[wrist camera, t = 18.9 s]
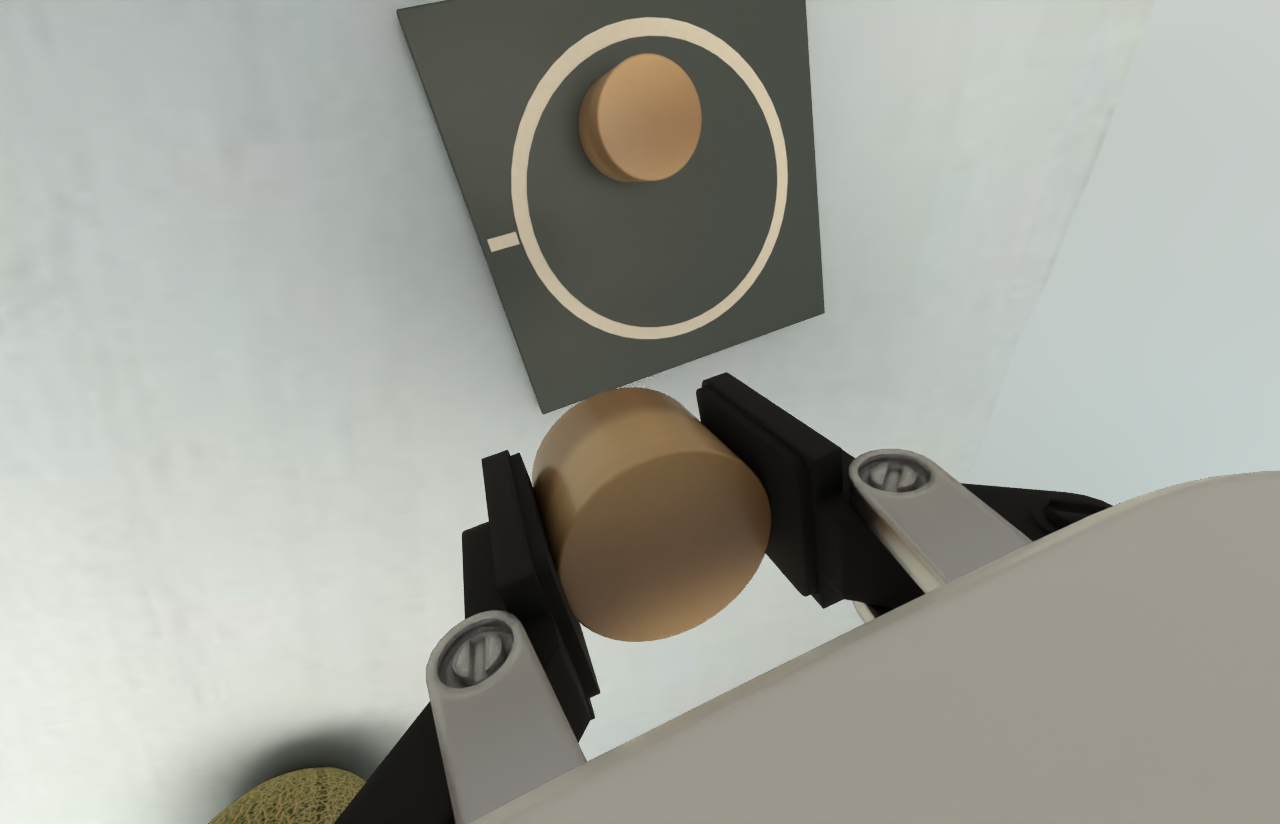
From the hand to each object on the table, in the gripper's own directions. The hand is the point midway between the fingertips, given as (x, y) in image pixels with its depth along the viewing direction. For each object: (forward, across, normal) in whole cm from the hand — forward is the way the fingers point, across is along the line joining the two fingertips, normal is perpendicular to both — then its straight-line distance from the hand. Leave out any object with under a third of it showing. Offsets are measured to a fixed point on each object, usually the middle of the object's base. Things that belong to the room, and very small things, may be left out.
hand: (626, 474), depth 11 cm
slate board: (+14, -7, -4) cm, 17 cm away
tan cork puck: (+13, -6, -7) cm, 16 cm away
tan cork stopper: (0, 0, 0) cm, 0 cm away
